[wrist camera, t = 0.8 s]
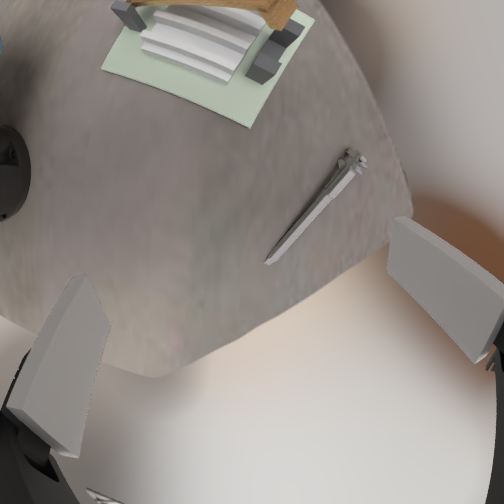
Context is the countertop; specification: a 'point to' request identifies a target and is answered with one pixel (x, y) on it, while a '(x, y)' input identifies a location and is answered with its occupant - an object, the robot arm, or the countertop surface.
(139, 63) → the processor board
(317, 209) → the caliper
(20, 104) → the countertop surface
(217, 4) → the bar
